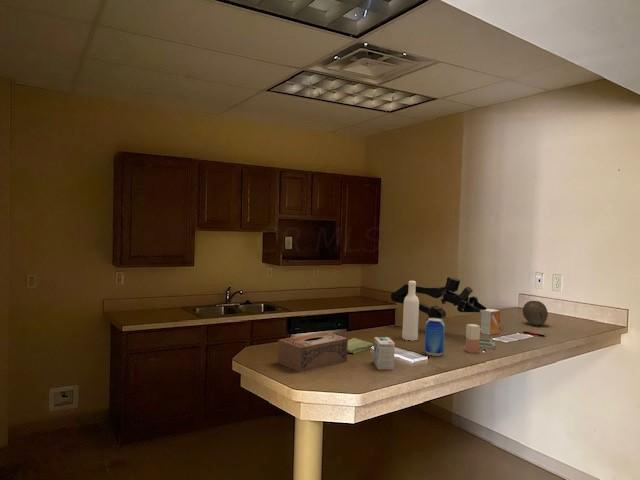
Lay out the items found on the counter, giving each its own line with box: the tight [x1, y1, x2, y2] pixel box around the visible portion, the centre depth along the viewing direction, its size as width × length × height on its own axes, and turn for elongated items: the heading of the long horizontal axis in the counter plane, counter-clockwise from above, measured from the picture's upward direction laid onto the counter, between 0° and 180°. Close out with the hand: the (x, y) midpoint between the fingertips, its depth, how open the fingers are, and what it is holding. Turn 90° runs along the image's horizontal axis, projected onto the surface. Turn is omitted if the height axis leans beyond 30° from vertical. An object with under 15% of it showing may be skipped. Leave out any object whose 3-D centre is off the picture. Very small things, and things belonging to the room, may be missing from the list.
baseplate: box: [479, 337, 496, 350], centre depth 231 cm, size 12×12×2 cm
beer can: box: [424, 317, 446, 357], centre depth 212 cm, size 8×8×16 cm
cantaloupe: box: [522, 300, 549, 327], centre depth 282 cm, size 14×14×15 cm
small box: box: [480, 308, 501, 336], centre depth 257 cm, size 8×6×13 cm
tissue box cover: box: [277, 331, 349, 373], centre depth 194 cm, size 26×14×10 cm, turn 131°
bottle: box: [401, 280, 420, 342], centre depth 237 cm, size 8×8×30 cm
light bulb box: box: [372, 336, 396, 371], centre depth 192 cm, size 11×7×11 cm, turn 5°
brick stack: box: [464, 323, 481, 354], centre depth 218 cm, size 4×4×12 cm
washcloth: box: [347, 337, 374, 355], centre depth 217 cm, size 13×18×3 cm
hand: (483, 310), depth 235 cm, fingers open, 9 cm apart
